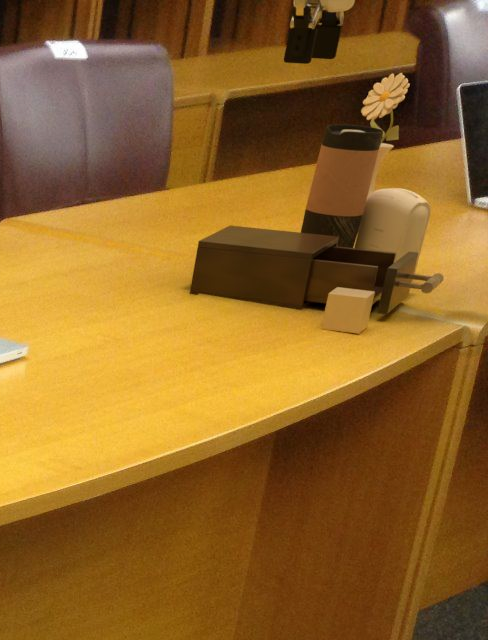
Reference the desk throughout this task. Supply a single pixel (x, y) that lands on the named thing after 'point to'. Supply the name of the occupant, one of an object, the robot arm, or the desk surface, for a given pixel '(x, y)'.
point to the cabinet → (258, 265)
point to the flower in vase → (384, 113)
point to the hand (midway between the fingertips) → (309, 60)
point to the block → (347, 310)
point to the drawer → (367, 275)
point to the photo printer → (394, 222)
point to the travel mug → (342, 182)
